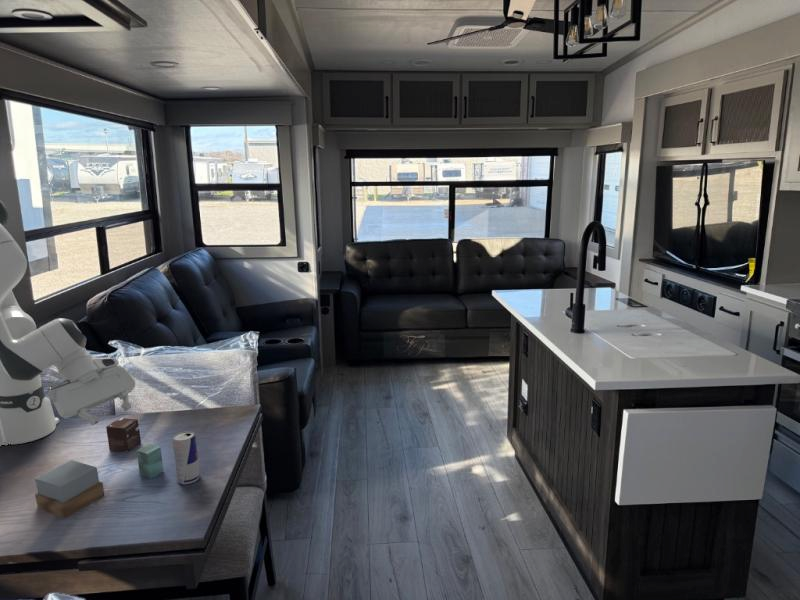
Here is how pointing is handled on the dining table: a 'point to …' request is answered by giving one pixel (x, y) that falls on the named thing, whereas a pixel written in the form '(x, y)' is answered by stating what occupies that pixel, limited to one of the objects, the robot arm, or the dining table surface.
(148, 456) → the block
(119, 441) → the box
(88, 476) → the tower top
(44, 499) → the tower base
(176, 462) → the energy drink
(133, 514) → the dining table surface
